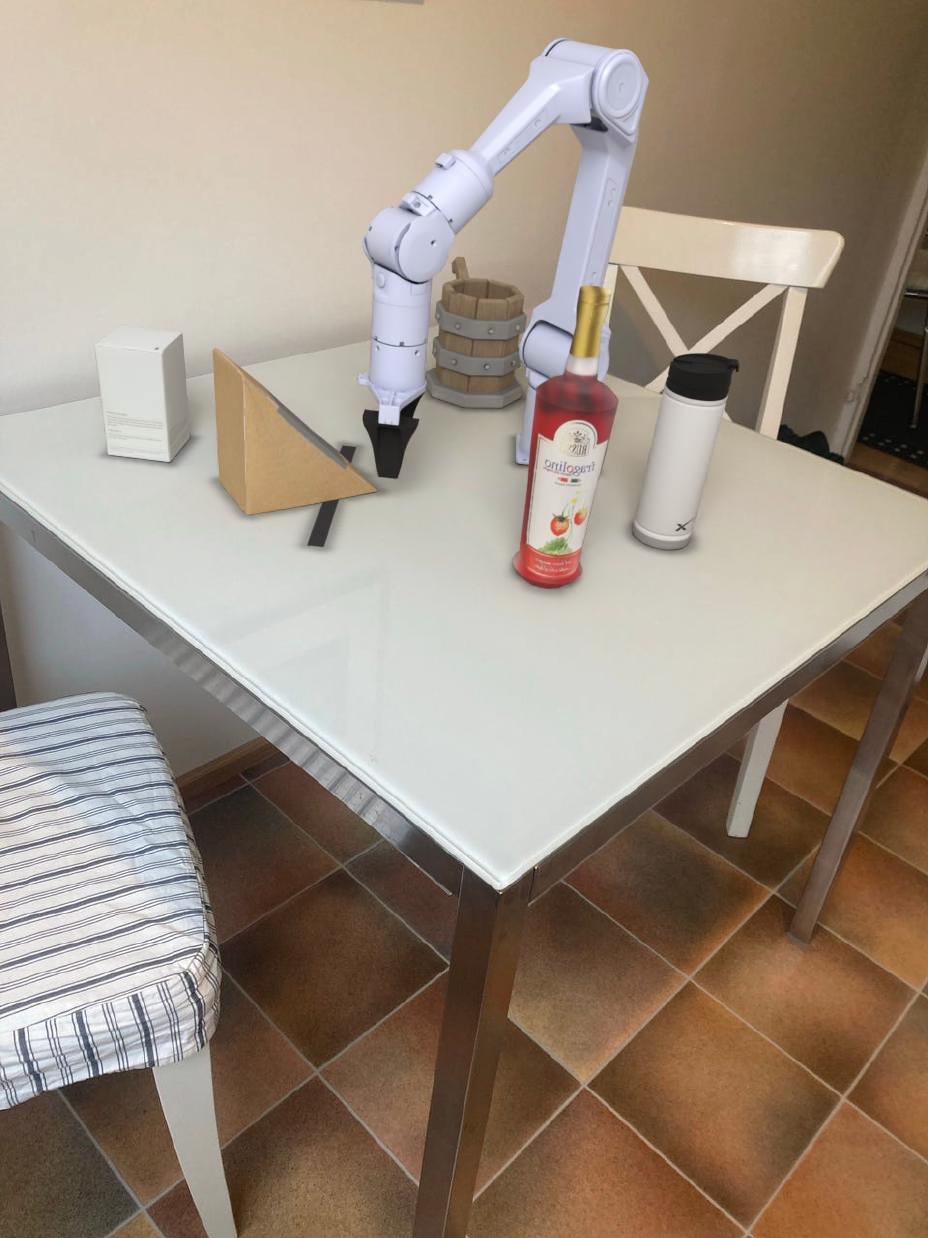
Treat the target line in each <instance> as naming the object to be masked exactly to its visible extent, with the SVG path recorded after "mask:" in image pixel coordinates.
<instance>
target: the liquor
mask: <svg viewBox="0 0 928 1238" xmlns="http://www.w3.org/2000/svg"><path fill="white" fill-rule="evenodd" d="M612 293H613V292H612V291H611V290H610V289H608V288H606V287H604V286H603V287H599V286H581V287H580V290H579V296H578V302H577V309H576V327H575V331H574V335H573V339H572V343H571V347H570V351H569V355H568V359H567V363H566V367H565V371H564V375H559V376H554V377H552V378H550V379H548V380H547V381H545V382H543V383H542V384H540V385H539V386H538V387H537V388H536V398H535V408H534V417H533V425H532V434H531V443H530V455H529V465H528V467H527V480H526V481H527V482H526V490H525V491H526V492H525V499H524V509H523V517H522V525H521V533H520V541H519V549H518V551H517V552H516V554H515V555H514V556H513V557H512V565H513V567H514V568H515V570H516V571H517V572H518V573H519V574H520V575H521V577H522V578H523V579H524V580H525V581H526V582H527V583H529V584H530V585H533V586H535V587H537V588H542V589H559V588H562V587H564V586H565V585H568V584H570V583H572V582H574V581H576V580H577V579H579V578H580V577H581V576H582V574H583V566H582V563H581V557H582V551H583V547H584V542H585V539H586V534H587V530H588V525H589V522H590V518H591V517H590V516H591V513H592V508H593V504H594V500H595V496H596V492H597V488H598V486H599V485H598V484H599V481H600V478H601V474H602V470H603V466H604V463H605V459H606V456H607V451H608V447H609V443H610V439H611V434H612V430H613V427H614V426H613V425H614V421H615V418H616V414H617V411H618V406H619V398H618V396H617V395H616V394H615V393H614V391H613V390H612V389H611V388H610V387H609V386H608V384H606V383H604V382H603V381H602V382H600V381H598V380H597V379H598V367H599V355H600V344H601V332H602V327H603V324H604V322H605V321H606V319H607V317H608V314H609V309H610V305H611V298H612Z"/></svg>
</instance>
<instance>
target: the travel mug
mask: <svg viewBox="0 0 928 1238" xmlns="http://www.w3.org/2000/svg"><path fill="white" fill-rule="evenodd" d="M734 371H735V373H739V371H740V362H739V360H738V359H735V358H728V357H726V356H724V355H719V354H714V353H706V352H705V353H703V352H694V353H693V352H692V353H685V354H680V355H677V356H675V357H674V358H673V359H672V360H671V361H670V362H669V367H668V372H667V377H666V381H665V383H664V387H663V388H664V389H663V391H662V396H661V400H660V403H659V408H658V413H657V418H656V422H655V427H654V431H653V436H652V440H651V445H650V450H649V452H648V458H647V462H646V467H645V471H644V475H643V480H642V483H641V487H640V493H639V498H638V502H637V505H636V506H637V507H636V511H635V515H634V520H633V524H632V529H631V530H632V534H633V536H634V537H635V538H636V540H638V541H639V542H640V543H643V544H644V545H647V546H649V547H651V548H654V549H658V550H663V551H664V550H667V551H668V550H669V551H672V550H673V551H674V550H675V551H676V550H679V549H682V548H684V547H686V546H688V545H689V543H690V542H691V538H692V534H693V530H694V526H695V522H696V518H697V515H698V511H699V508H700V503H701V500H702V495H703V492H704V488H705V484H706V480H707V477H708V473H709V470H710V465H711V461H712V458H713V454H714V451H715V447H716V443H717V438H718V435H719V431H720V427H721V423H722V419H723V416H724V412H725V408H726V405H727V401H728V397H729V391H730V387H731V385H732V376H733V373H734Z"/></svg>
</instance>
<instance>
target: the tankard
mask: <svg viewBox="0 0 928 1238" xmlns="http://www.w3.org/2000/svg"><path fill="white" fill-rule="evenodd" d="M451 273H452V274H453V275H455V278H456V279H453V280H450V281H447V282H444V283H443V284H442V289H441V299H439V300H437V301H436V302H435V315H434V318H435V320H436V322H437V324H438V332H437V333H438V334H437V336H434V337H433V338H432V347H431V348H432V350H431V354H432V356H433V357H434V359H435V366H434V367H433V368H431V369H428V370H426V371H425V379H426V388H427V390H428V391H429V393H430V396H431V397H432V398H434V399H437V400H440V401H443V402H445V403H449V404H452V405H454V406H458V407H461V408H464V409H503V408H504V407H506V406H507V405H510V404H511V403H513V402H515V401H517V400H519V399H520V398H522V394H523V390H524V389H523V386H522V385H521V383H520V382H519V381H518V379H517V377H516V376H515V371H516V370H518V369H519V368H521V364H522V363H521V360H520V356H519V347H520V346H519V341H520V335H521V334H524V333H525V331H526V326H527V320H528V319H527V318H528V315H527V314H526V312H525V311H524V304H525V295H524V294H523V293H522V291H521V290H520V289H519V288H518V287H517V286H515V285H514V284H510V283H506V282H502V281H499V280H497V279H496V280H495V279H492V278H491V279H490V280H489V278H477V277H470V275H469V271H468V266H467V262H466V258H465V257H464V256H456V257H455V258H454V259H453V261H452V262H451Z"/></svg>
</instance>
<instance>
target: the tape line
mask: <svg viewBox="0 0 928 1238" xmlns="http://www.w3.org/2000/svg"><path fill="white" fill-rule="evenodd" d="M356 449H357V446H353V445H342V446H341V449H340V451H339V453H341V454H342V455H343V456H344V457H345V458H346V459H347V460H348V461H349V462H350V463H351V464H352V461H353V458H354V454H355V452H356ZM339 500H340V499H335V500H330V501H325V502H321V505H320V508H319V510H318V513H317V516H316V519H315V522H314V525H313V528H312V531H311V533H310V536H309V539H308V541H307V546H309V547H318V548H324V547H325V544H326V540H327V538H328V535H329V531H330V529H331V526H332V522H333V519H334V515H335V512H336V509H337V507H338V504H339Z"/></svg>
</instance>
